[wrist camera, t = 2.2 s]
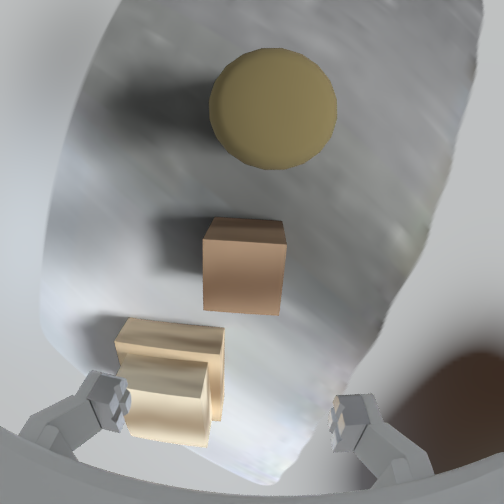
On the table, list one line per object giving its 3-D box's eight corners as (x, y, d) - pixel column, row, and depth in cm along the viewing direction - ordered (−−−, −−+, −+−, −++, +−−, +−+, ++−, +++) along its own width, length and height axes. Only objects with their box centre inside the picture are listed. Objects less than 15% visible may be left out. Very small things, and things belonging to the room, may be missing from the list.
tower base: (130, 315, 27) (114, 341, 24) (225, 325, 27) (219, 354, 24) (143, 382, 31) (132, 408, 27) (224, 392, 31) (220, 421, 27)
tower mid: (127, 353, 24) (111, 385, 20) (208, 362, 24) (200, 398, 20) (142, 405, 27) (131, 435, 23) (212, 414, 27) (207, 447, 23)
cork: (211, 137, 21) (164, 146, 11) (248, 63, 19) (234, 5, 9) (288, 173, 22) (311, 214, 12) (326, 100, 20) (383, 77, 9)
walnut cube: (214, 216, 23) (202, 239, 19) (282, 220, 23) (286, 244, 19) (213, 276, 25) (203, 310, 20) (276, 281, 25) (279, 315, 20)
